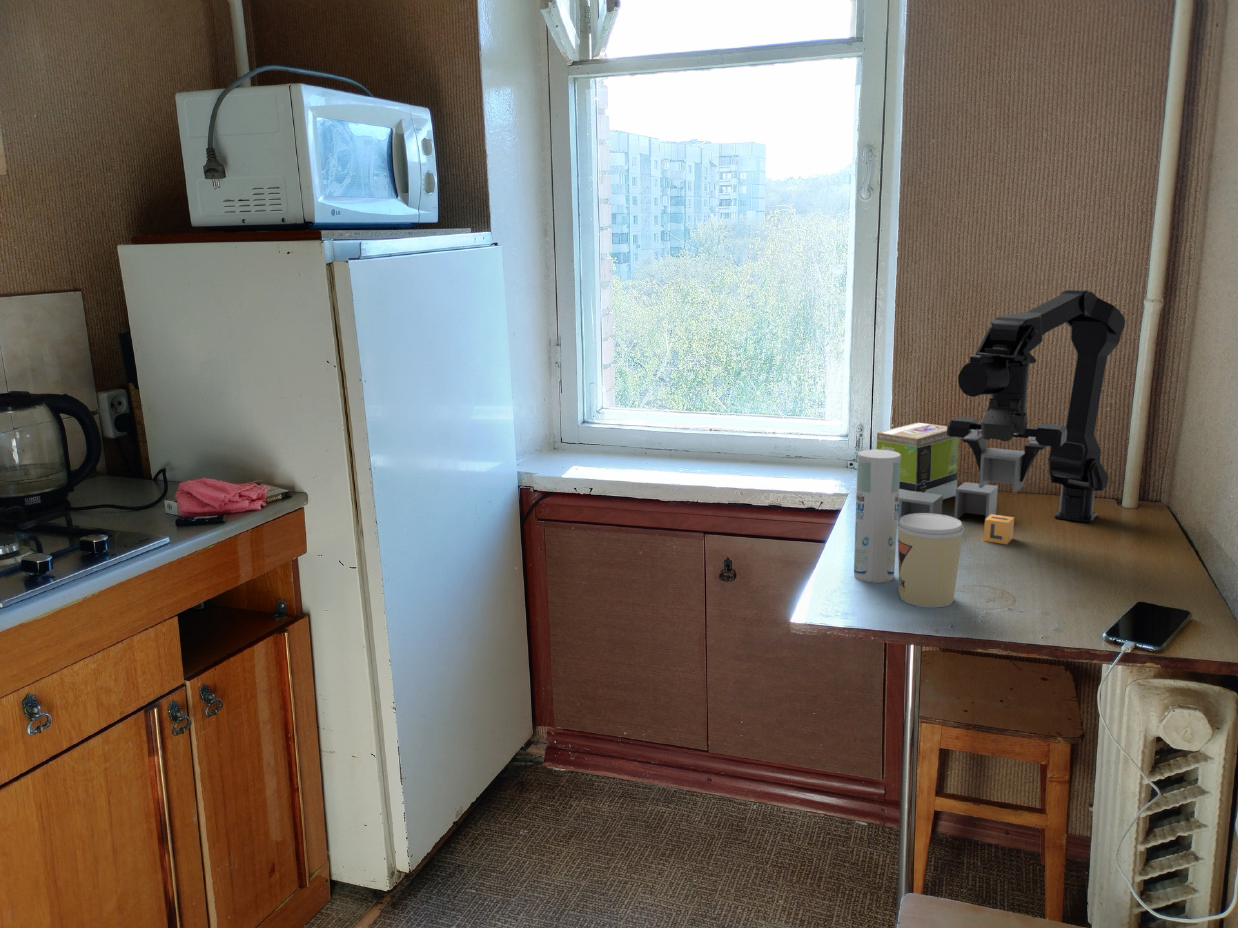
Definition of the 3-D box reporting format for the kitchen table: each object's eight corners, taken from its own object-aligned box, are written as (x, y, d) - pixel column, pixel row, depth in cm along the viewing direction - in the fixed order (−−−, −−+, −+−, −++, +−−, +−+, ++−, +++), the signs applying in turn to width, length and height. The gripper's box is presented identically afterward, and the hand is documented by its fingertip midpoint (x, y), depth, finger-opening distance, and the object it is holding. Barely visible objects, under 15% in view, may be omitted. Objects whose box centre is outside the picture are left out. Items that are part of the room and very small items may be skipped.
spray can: (898, 583, 151) (904, 458, 146) (855, 582, 151) (861, 458, 147) (890, 569, 157) (896, 449, 153) (850, 569, 158) (855, 449, 153)
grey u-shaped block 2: (908, 521, 184) (909, 490, 182) (941, 526, 180) (942, 494, 179) (897, 529, 179) (898, 498, 177) (931, 534, 175) (932, 502, 174)
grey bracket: (987, 480, 174) (990, 447, 172) (1024, 484, 170) (1027, 451, 169) (978, 487, 169) (981, 454, 167) (1016, 492, 165) (1019, 458, 164)
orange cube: (989, 535, 175) (990, 513, 174) (1012, 538, 172) (1014, 517, 171) (983, 541, 171) (984, 519, 170) (1006, 544, 169) (1008, 522, 168)
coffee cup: (897, 584, 150) (900, 510, 148) (960, 591, 147) (965, 515, 144) (890, 605, 142) (894, 526, 139) (957, 613, 139) (963, 532, 136)
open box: (963, 511, 190) (964, 481, 188) (995, 516, 186) (998, 485, 185) (954, 519, 185) (956, 488, 183) (987, 523, 181) (990, 493, 180)
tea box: (915, 488, 208) (919, 420, 205) (957, 497, 200) (962, 427, 197) (872, 500, 199) (876, 430, 195) (915, 510, 191) (919, 437, 188)
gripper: (940, 393, 164) (934, 482, 168) (1058, 402, 154) (1050, 496, 158) (958, 385, 173) (952, 469, 177) (1071, 392, 163) (1063, 482, 167)
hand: (1002, 479), depth 169 cm, fingers closed on grey bracket, 6 cm apart
